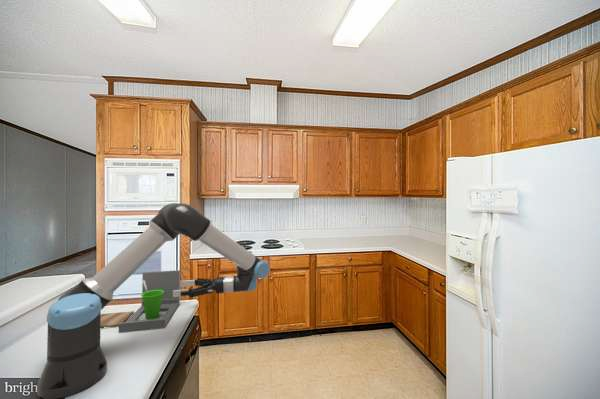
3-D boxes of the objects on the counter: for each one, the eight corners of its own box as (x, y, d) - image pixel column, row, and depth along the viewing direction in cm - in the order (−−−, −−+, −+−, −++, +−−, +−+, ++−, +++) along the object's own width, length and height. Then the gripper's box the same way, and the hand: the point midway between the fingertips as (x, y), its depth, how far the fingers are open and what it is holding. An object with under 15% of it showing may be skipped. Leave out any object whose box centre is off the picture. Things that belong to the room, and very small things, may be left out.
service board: (133, 313, 118) (134, 311, 118) (120, 326, 105) (120, 324, 105) (102, 316, 115) (102, 313, 115) (84, 330, 102) (84, 327, 102)
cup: (156, 322, 109) (156, 296, 109) (136, 321, 109) (136, 296, 109) (167, 313, 118) (168, 289, 118) (148, 312, 118) (149, 289, 118)
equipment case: (179, 304, 128) (180, 270, 129) (164, 328, 104) (165, 285, 104) (143, 307, 125) (143, 272, 125) (118, 332, 100) (119, 288, 100)
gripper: (222, 302, 109) (169, 307, 104) (226, 284, 133) (183, 287, 129) (222, 285, 109) (169, 289, 104) (226, 270, 133) (183, 273, 129)
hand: (176, 288), depth 116 cm, fingers open, 13 cm apart
